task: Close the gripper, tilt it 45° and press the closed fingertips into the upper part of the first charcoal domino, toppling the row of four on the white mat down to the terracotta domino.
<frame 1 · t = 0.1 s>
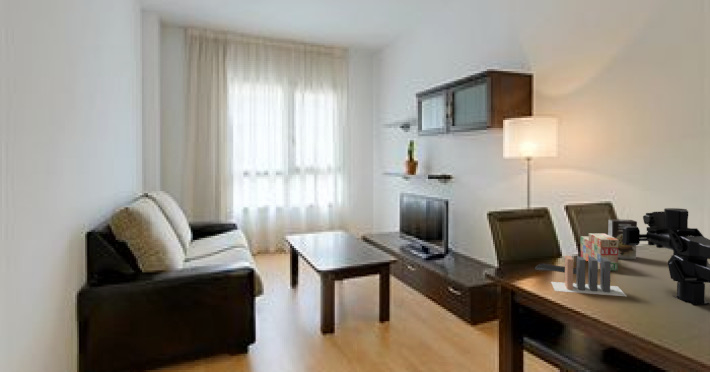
hand: (637, 231, 143), 17 cm above the table, tool horizontal, fingers open, 9 cm apart
domino 2: (592, 288, 130), point 1 cm above the table, touching white mat
stack of blocks: (597, 264, 163), on the table
domino 3: (580, 288, 131), point 1 cm above the table, touching white mat
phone: (557, 271, 154), on the table
domino 1: (605, 289, 129), point 1 cm above the table, touching white mat
white mat: (586, 290, 130), on the table
terracotta domino: (568, 287, 132), point 1 cm above the table, touching white mat
coffee box: (621, 257, 172), on the table
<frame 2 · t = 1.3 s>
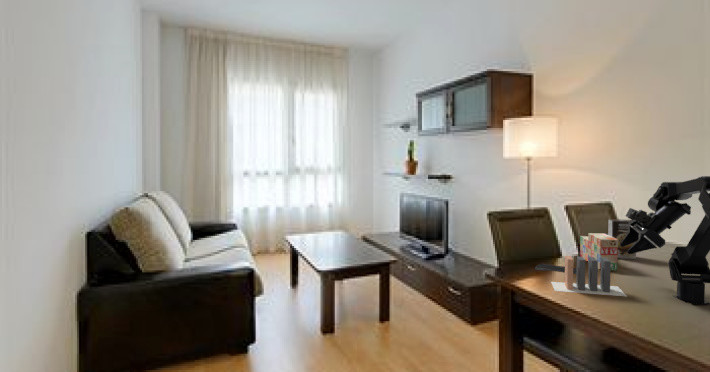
hand: (624, 249, 134), 12 cm above the table, tool tilted 45°, fingers open, 9 cm apart
nothing on the table moved.
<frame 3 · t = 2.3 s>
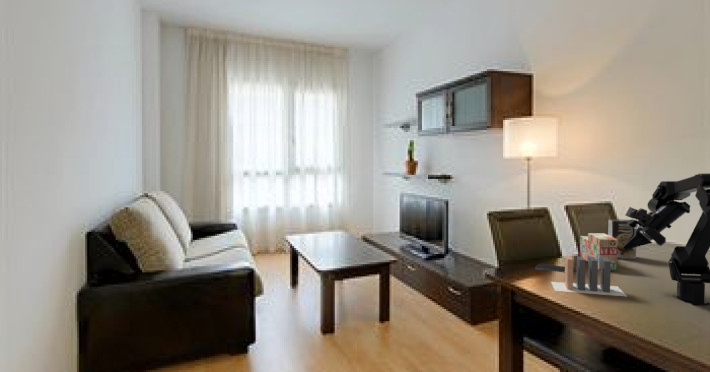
hand: (624, 248, 134), 13 cm above the table, tool tilted 45°, fingers closed
nothing on the table moved.
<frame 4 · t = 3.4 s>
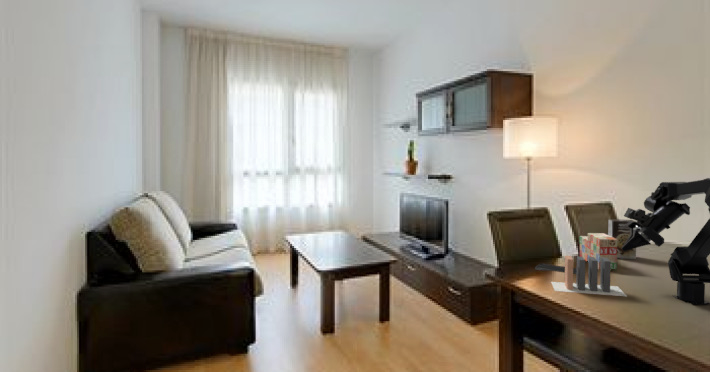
hand: (622, 249, 133), 12 cm above the table, tool tilted 45°, fingers closed
nothing on the table moved.
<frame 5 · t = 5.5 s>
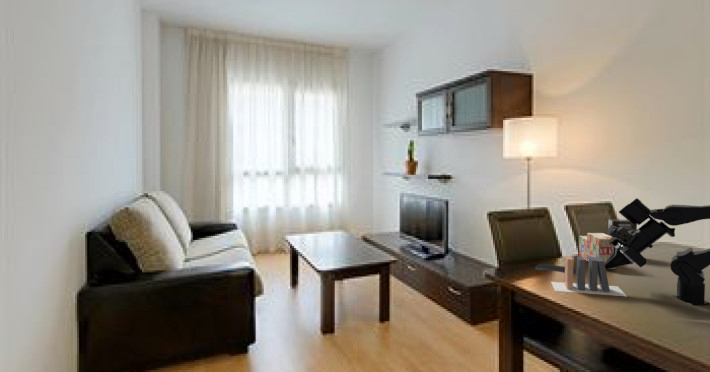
hand: (604, 268, 128), 8 cm above the table, tool tilted 45°, fingers closed
domino 1: (605, 289, 129), point 1 cm above the table, tilted 10°, touching white mat
everything else where it was.
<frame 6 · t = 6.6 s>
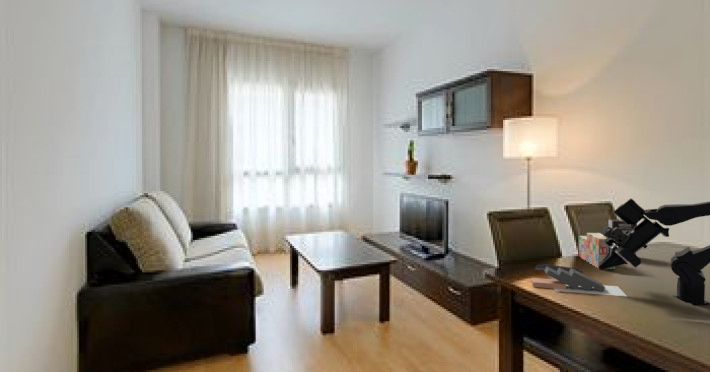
hand: (599, 268, 129), 8 cm above the table, tool tilted 45°, fingers closed
domino 2: (589, 286, 130), point 1 cm above the table, tilted 63°, touching domino 1, domino 3, white mat
domino 3: (576, 285, 131), point 1 cm above the table, tilted 63°, touching domino 2, terracotta domino
domino 1: (602, 287, 129), point 1 cm above the table, tilted 64°, touching domino 2, white mat
terracotta domino: (565, 284, 132), point 1 cm above the table, tilted 90°, touching domino 3, white mat
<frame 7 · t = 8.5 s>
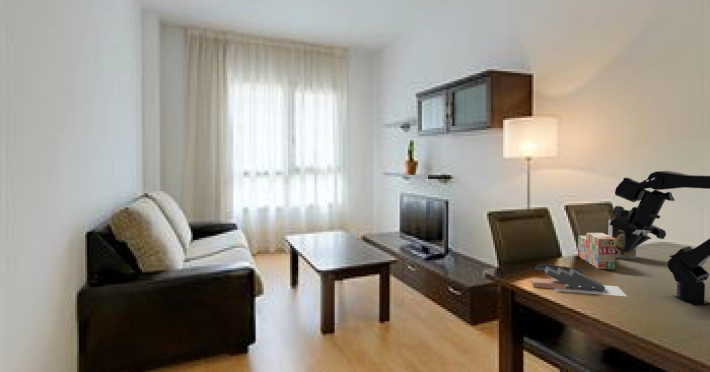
hand: (626, 251, 131), 12 cm above the table, tool tilted 20°, fingers closed
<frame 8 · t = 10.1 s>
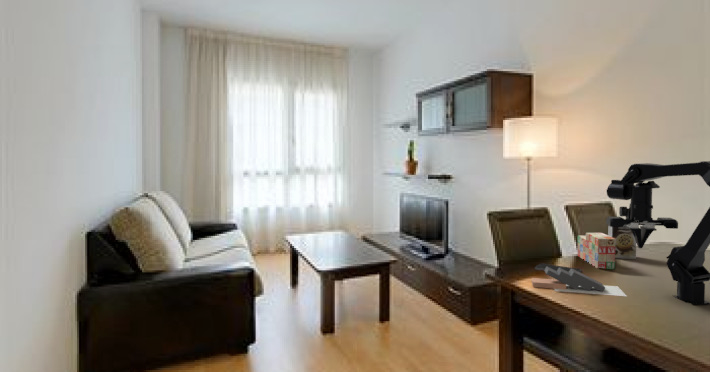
hand: (640, 248, 132), 13 cm above the table, tool pointing down, fingers closed
at the end: terracotta domino tilted 90°; domino 2 tilted 63° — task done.
